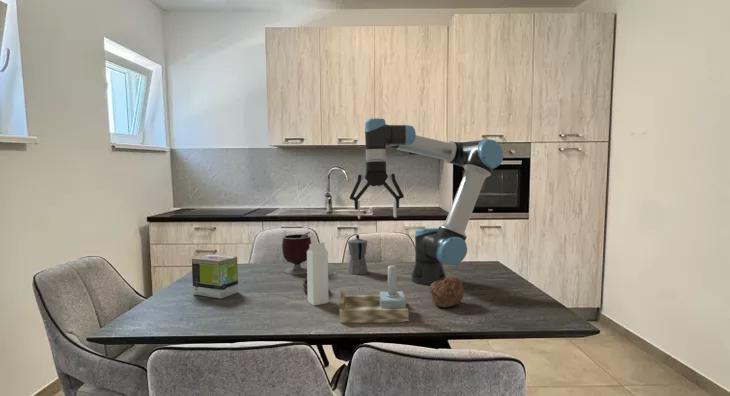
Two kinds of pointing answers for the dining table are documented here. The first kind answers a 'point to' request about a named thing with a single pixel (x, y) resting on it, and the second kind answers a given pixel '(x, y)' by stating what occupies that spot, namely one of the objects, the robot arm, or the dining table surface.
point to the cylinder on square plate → (392, 292)
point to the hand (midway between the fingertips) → (377, 217)
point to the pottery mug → (306, 286)
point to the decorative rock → (447, 292)
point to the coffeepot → (357, 256)
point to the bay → (368, 310)
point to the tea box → (215, 275)
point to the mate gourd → (296, 251)
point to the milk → (317, 274)
